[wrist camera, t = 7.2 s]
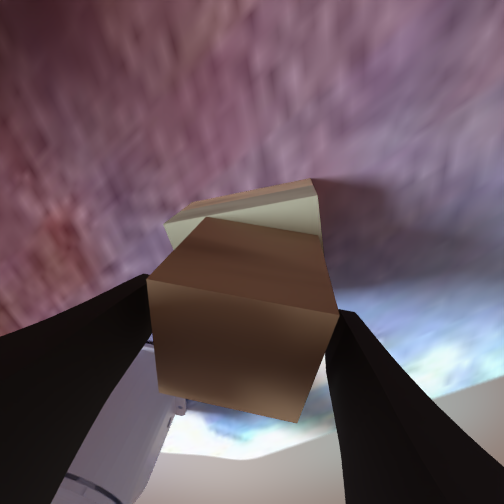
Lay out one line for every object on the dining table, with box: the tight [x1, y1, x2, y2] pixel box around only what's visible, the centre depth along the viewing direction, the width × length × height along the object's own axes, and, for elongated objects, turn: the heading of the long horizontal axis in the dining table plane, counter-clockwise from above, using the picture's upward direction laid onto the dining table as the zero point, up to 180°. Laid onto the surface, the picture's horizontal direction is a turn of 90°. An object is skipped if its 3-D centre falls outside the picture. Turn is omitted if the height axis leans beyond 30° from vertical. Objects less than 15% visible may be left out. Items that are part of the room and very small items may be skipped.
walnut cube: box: [146, 217, 340, 423], centre depth 9 cm, size 5×5×5 cm
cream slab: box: [163, 178, 324, 255], centre depth 14 cm, size 7×7×4 cm
